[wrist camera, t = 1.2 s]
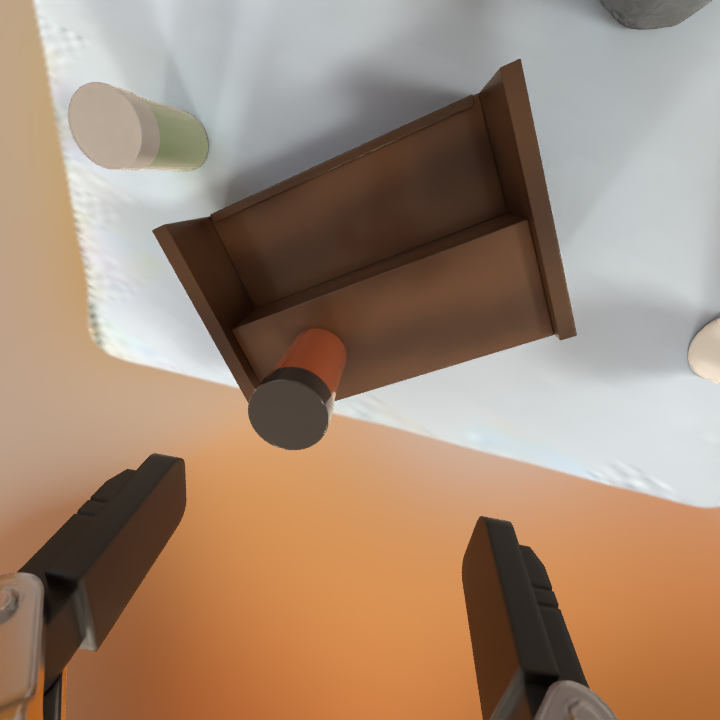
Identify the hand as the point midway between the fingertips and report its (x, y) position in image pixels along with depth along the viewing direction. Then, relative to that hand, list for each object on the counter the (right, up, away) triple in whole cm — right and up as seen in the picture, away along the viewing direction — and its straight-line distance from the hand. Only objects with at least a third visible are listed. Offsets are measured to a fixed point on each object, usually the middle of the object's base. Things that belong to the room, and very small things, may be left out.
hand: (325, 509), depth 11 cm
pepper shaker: (-2, +4, +17) cm, 18 cm away
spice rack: (+2, +13, +23) cm, 26 cm away
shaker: (-13, +21, +21) cm, 32 cm away
